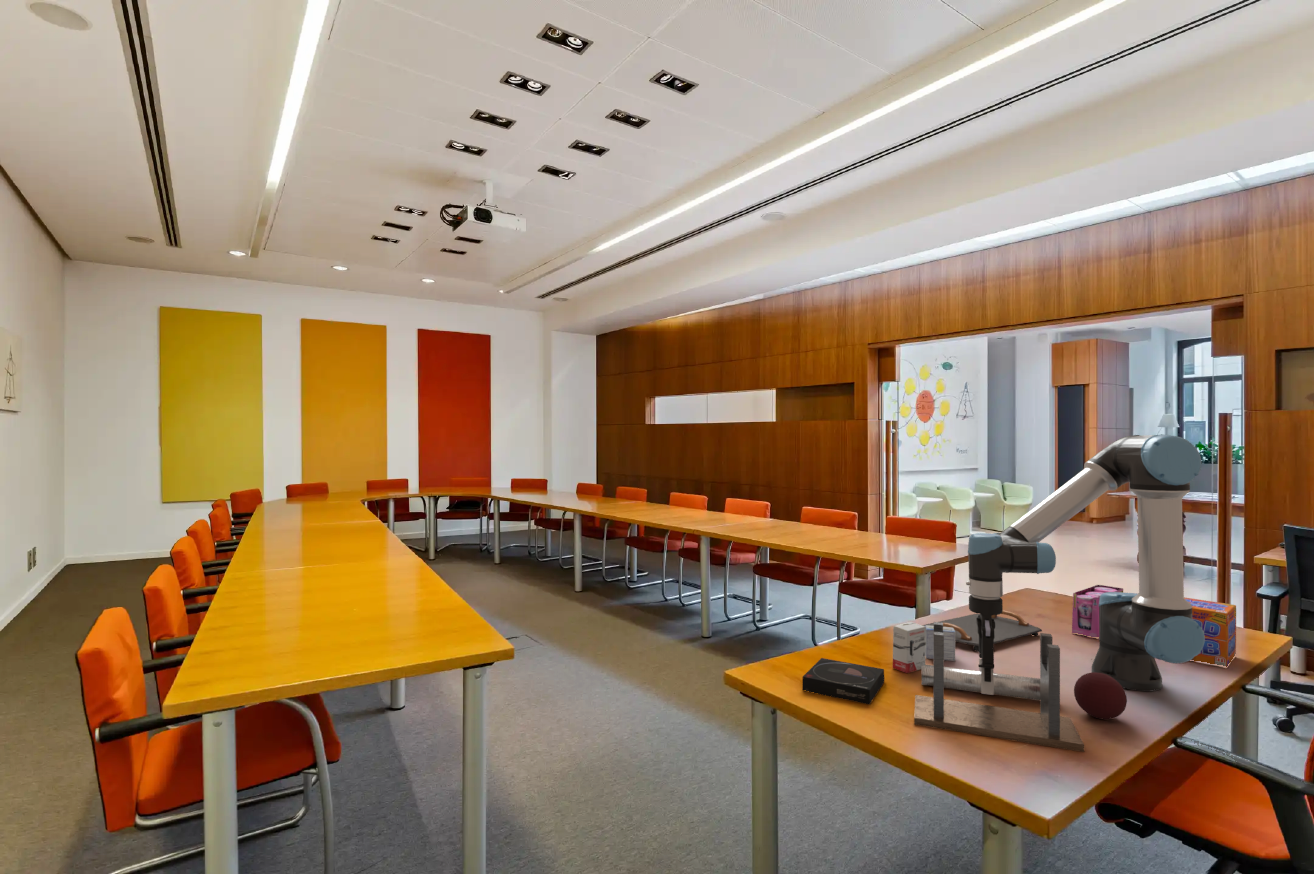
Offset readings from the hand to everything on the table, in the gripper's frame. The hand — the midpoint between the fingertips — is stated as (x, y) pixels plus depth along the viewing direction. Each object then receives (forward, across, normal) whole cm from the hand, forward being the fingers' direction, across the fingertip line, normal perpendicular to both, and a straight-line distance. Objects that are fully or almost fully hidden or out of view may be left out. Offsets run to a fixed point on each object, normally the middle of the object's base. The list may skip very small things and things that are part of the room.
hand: (986, 689), depth 161 cm
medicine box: (+1, -25, -10) cm, 27 cm away
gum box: (+2, -76, +39) cm, 85 cm away
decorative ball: (+2, +5, +23) cm, 23 cm away
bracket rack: (+1, +19, 0) cm, 19 cm away
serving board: (+2, -54, +2) cm, 55 cm away
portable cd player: (+1, +9, -33) cm, 35 cm away
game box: (+2, -57, +60) cm, 83 cm away
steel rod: (+1, -1, 0) cm, 1 cm away
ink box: (+1, -12, -18) cm, 22 cm away
